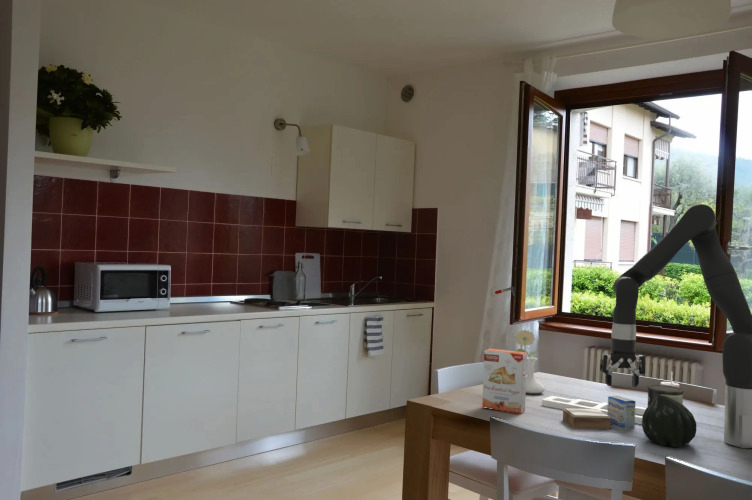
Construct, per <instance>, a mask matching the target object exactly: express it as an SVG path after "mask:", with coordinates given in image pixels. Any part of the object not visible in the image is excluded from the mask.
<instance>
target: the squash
mask: <svg viewBox="0 0 752 500" xmlns="http://www.w3.org/2000/svg"><path fill="white" fill-rule="evenodd" d="M645 408H646V410H645V412H644V414H643V415H642V416H643V417H642V424H641V427H642V430H643V433H644V435H645V436H646V437H647V439H648V440H649V441H650V442H652V443H654V444H658V445H660V446H663V447H668V446H669V447H672V448H678V447H680V446H681V445H683V446H684V445H688V444H689V443H691V441H692V440H693V439H694V438H695V437H696V435H697V421H696V418H695V416H694V415H693V413H692V412H691V411H690V410H689V409H688V408H687V407H686V406H685V405H684V404H683V405H682V404H681V403H680V402H678V401H676V400H674V399H672V398H670V397H667V396H664V395H660V394H659V395H658V396H657V397H656V398H655V399H654V401H653V402H652V403H651V404H650V405H649V406H648V405H647V407H645Z"/></svg>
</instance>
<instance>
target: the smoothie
mask: <svg viewBox="0 0 752 500" xmlns="http://www.w3.org/2000/svg"><path fill="white" fill-rule="evenodd" d="M673 375H674V372H673V371H670V381H660V385H667V386H674V387H678V388H680V384H679V383H677V382H674V381H673Z"/></svg>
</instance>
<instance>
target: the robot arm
mask: <svg viewBox="0 0 752 500" xmlns="http://www.w3.org/2000/svg"><path fill="white" fill-rule="evenodd" d="M716 218H717V216H716V213H715V211H714V209H713V208H712V207H711V206H709V205H707V204H705V203H698V204H694V205H692V206H689V207H688V208H687V210H686V211H685V212H684V213H683V215H682V217H681V218H680V219H679V220H678V221H677V222H676V223H675V225H674V226H672V228H671V230H670V231H668V232H667V234H666V235H665V236H664V237H663V238H662V239H660V241H659V242H657V243H656V244H655V245H654V246H653V247H652V248H651V249H649V250H648V251H647V252H646V253H645V254H644V255H643V256H642V257H641V258H640V259H639V260H638V261H637V262H636V263H635V264H634V265H633V266H631V267H630V268H628V269H627V270H626V271H625V272H623V273H622V274H621V275H619V276H618V278H616V280H614V282H613V285H612V289H613V292H614V294H615V305H614V307H613V315H612V327H611V334H610V335H611V338H610V339H611V341H610V342H611V343H610V353H609V354H605V353H601V355H600V363H599V371H600V372H601V373H603V374H605V377H604V378H605V379H604V380H605V381H604V383H605V384H606V385H607V386H608V387H612V383H613V375H612V374H613V373H614V372H615V371H616V370H617V368H618V369H629V370H630V371H631V372H632V377H631V386H632V387H634V388H637V387H638V386H639V384H640V381H639V380H640V375H645V374H646V356H645V355H642V354H638V355H636V349H637V347H636V345H637V344H636V343H637V327H636V325H637V324H636V323H637V320H636V319H637V306H638V300H639V294H640V293H639V291H640V289H639V288H640V287H641V286H643V285H644V284H645V283H646V282H648V281H650V280H652V279H653V278H654V277H656V276H657V275H658V274H659V273H660V272H661V271H662V270H663V269H665V267H666V266H667V265H668V264H669V263H670V262H671V261H673V259H674V257H675V256H676V255H677V254H678V252H679V251H680V250H681V249H682V248H683V247H684V246H685V245H686V244H687V243H688V242H689V241H691V243H692V245H693V248H694V250H695V253H696V254H697V259H698V263H699V267H700V271H701V272H700V273H701V275H702V278H703V281H704V285H705V287H706V290H707V292H708V295H709V297H710V299H711V301H713V302H714V304H715V305H716V307H717V308H718V309H719V310H720V311H721V313H722V314H724V317H726V319H727V321H728V322H729V324H730V327H731V330H732V332H733V333H731V334H728V336H727V337H726V338H725V339H724V341H723V343H722V353H721V354H722V374H723V377H724V380H725V391H724V392H725V393H724V421H723V422H724V424H723V425H724V426H723V428H724V433H723V442H724V443H726V444H728V445H731V446H735V447H739V448H741V449H752V312H751V309H750V306H749V303H748V301H747V299H746V296H745V294H744V292H743V288H742V286H741V285H742V284H741V282H740V279H739V277H738V274H737V272H736V270H735V268H734V266H733V264H732V261H730V258H729V257H728V256H727V255H726V253H725V251H724V249H723V247H722V245H721V243H720V239H719V236H718V232H717V228H716ZM609 360H610V361H611V362H610V363H609V364H608V361H609ZM635 362H637V366H636V365H635ZM607 364H608V365H607Z"/></svg>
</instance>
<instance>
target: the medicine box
mask: <svg viewBox="0 0 752 500" xmlns="http://www.w3.org/2000/svg"><path fill="white" fill-rule="evenodd" d="M607 403H608V412H607V415H608V416H609V417H610V418H611V425H612V424H613V425H615V426H619V427H622V428H624V429H625V428H635V425H636V423H635V415H636V414H635V406H636V400H633V399H630V398H626V397H622V396H619V395H608V396H607Z"/></svg>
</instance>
